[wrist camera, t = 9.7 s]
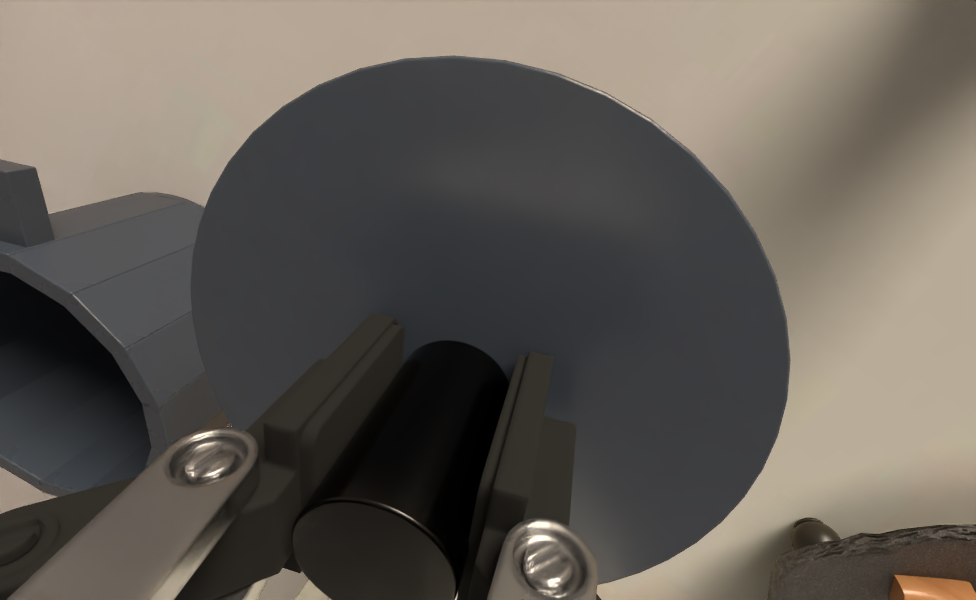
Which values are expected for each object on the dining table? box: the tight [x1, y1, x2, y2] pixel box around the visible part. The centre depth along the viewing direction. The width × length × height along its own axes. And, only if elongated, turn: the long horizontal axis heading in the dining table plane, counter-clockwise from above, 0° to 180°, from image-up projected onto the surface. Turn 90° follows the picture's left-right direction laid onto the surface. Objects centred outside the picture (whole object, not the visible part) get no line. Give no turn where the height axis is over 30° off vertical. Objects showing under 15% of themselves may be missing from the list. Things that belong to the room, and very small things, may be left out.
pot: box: [0, 160, 229, 497], centre depth 23 cm, size 13×18×8 cm
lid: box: [190, 56, 790, 600], centre depth 9 cm, size 14×14×6 cm
